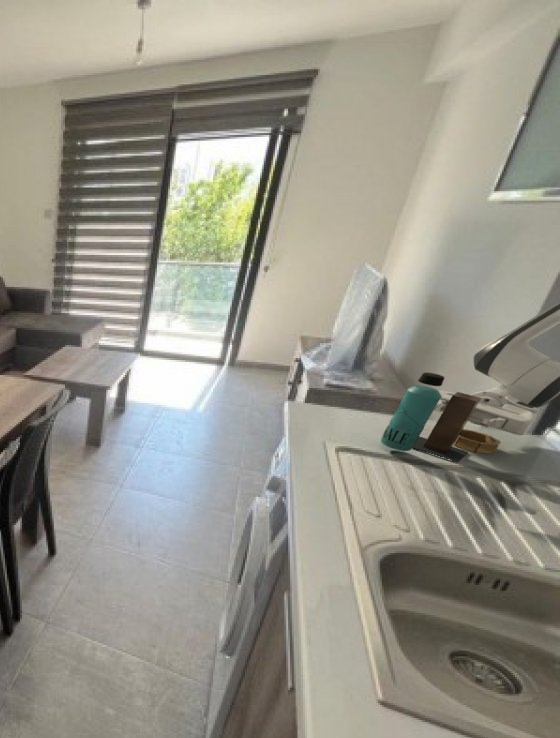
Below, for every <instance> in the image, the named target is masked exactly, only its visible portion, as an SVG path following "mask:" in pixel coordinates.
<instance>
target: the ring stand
mask: <svg viewBox="0 0 560 738" xmlns="http://www.w3.org/2000/svg"><path fill="white" fill-rule="evenodd" d="M501 443H502V442H501V440H499V439H497V438H495V437H493V436H491V435H489V434H486V433H483V432H480V431H476V430H473V429H468V428H463V429H462V431H461V433H460V434H459V436H458V438H457V439H456V441H455V443H454V444H453V447H455V448H459V447H460V448H459V449H462V450H465V451H468V452H472V453H474V452H475V453H478V454H485V455H486V454H487V455H493V454H494V453H496V451H497V449H498V448H499V447H500V445H501Z"/></svg>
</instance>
